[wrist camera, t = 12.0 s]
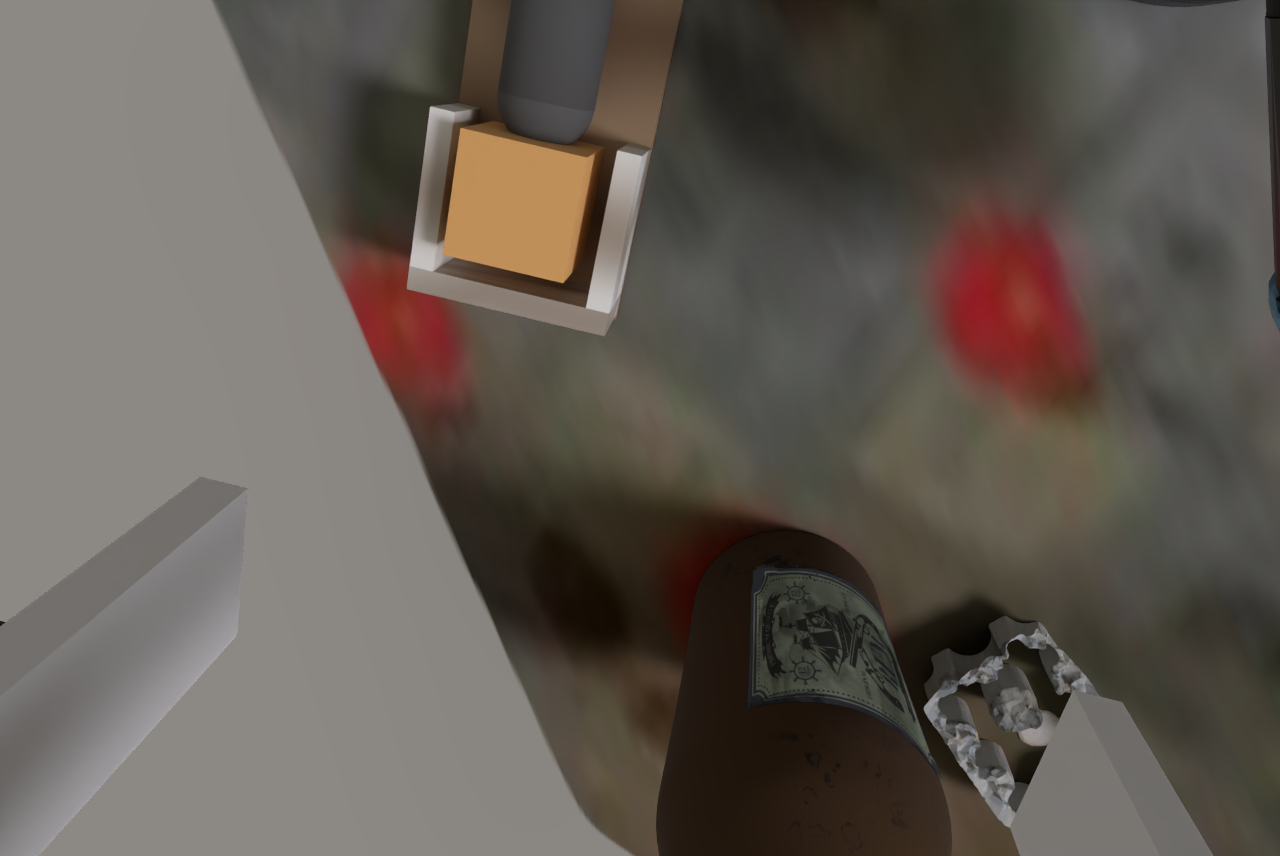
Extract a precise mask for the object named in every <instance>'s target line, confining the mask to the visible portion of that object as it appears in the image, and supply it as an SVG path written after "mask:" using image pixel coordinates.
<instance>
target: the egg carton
mask: <svg viewBox="0 0 1280 856" xmlns="http://www.w3.org/2000/svg"><path fill="white" fill-rule="evenodd" d="M989 628H990V631H991V641H990V643H989V645H988V646H987V648H986V649H985V650H984V651H982V652H981V653H979V654H976V655H972V656H966V655H960V654H957V653H955V652H953V651H952V650H950V649H944V650H942V651H941V652H939V653H937V654H935V655H933V656H932V657H931V660H932V663H933V667H934V672H933V674H932V676H931V678H930V679H929V680H928V681H927V682H926V683H924V686H925V691H926V695H927V697H928V701H929V702H928V703H927V704H926V705H925V706H924V712H925V713H926V715H927V717H928V718H929V720H930V721H931V723H932V724H933V726H934V727H935V728H936V729H937V730H938V732H939V733H940V735H941V736H942V738H943V740H944V742H945V744H947V745H948V746H949V748H950V750H951V751H952V753H953V755H954V756H955V758H956V760H957V762H958V763H959V765H960V766H961V767H962V768H963V769H964V771H965V772H966V773H967V775H968V776H969V778H970V779H971V781H972V782H973V784H974V785H975V786H976V787H977V789H978V790H979V792H980V793H981V795H982V796H983V798H984V799H985V801H986V802H987V804H988V805H989V807H990V808H991V809H992V811H993V812H994V814H995V815H996V816H997V818H998V819H999V820H1000V821H1001V822H1002V823H1003V824H1004V825H1005V826H1007V827H1009V828H1010V825H1011V823H1012V821H1013V819H1014V817H1015V814H1016V812H1017V810H1018V808H1019V806H1020V804H1021V802H1022V799H1023V797H1024V795H1025V793H1026V791H1027V789H1028V786H1029V785H1028V784H1025V783H1021V782H1014V778H1013V775H1012V773H1011V770H1010V767H1009V765H1008V762H1007V760H1006V757H1005V755H1004V752H1003V749H1002V748H1001V747H1000V746H999V745H998V744H996V743H995V742H993V741H989V740H979V737H978V734H977V730H976V728H975V725H974V722H973V719H972V717H971V714H970V711H969V708H968V706H967V704H966V703H965V702H964V700H962V699H961V698H959V697H957V696H954V695H949V694H952V693H954V692H955V691H956V690H957V687H958V684H963V685H965V686H968V685H970V684H972V683H974V682H979V683H981V689H982V692H983V695H984V698H985V701H986V703H987V706H988V708H989V713H990V715H991V716H992V718H993V719H994V721H995V723H996V724H997V726H998V727H999V728H1000V729H1001V730H1003V731H1012V732H1018V735H1019V737H1020V739H1021V740H1022V741H1023V742H1024V743H1026V744H1029V745H1031V746H1046V745H1048V743H1049V741H1050V739H1051V737H1052V735H1053V732H1054V730H1055V728H1056V726H1057V724H1058V722H1059V718H1058V717H1057V716H1056V715H1055V714H1053V713H1052V712H1050V711H1047V710H1039V708H1038V704H1037V699H1036V697H1035V695H1034V693H1033V691H1032V689H1031V686H1030V684H1029V682H1028V680H1027V678H1026V676H1025V674H1024V672H1023V671H1022V670H1021V669H1020V668H1018V667H1017V666H1014V665H1012V664H1003V663H1002V660H1005V659H1007V658H1008V657H1009V653H1008V650H1007V645H1008V643H1009V642H1011V641H1013V640H1016V639H1018V640H1020V641H1021V642H1022V643H1024V645H1026V646H1027V647H1028V648H1037V649H1039V655H1040V658H1041V662H1042V664H1043V666H1044V668H1045V671H1046V673H1047V674H1048V677H1049V679H1050V681H1051V682H1052V684H1053V687H1054V690H1055V692H1056V693H1057V694H1058V695H1062V694H1063V693H1065V692H1068V693H1072V691H1073V690H1075V691H1079V692H1083V693H1087V694H1091V695H1095V696H1099V695H1098V693H1097V692H1096V690H1095V688H1094V687H1093V685H1092V684H1091V682H1090V681H1089V680H1088V678H1087V677H1086V676H1085V675H1084V674H1083V673H1082V672H1081V670H1080V669H1079V668H1078V667H1077V666H1076V665H1075V664H1074V663H1073V662H1072V660H1071V659H1070V658H1069V657H1068V656H1067V655H1066V654H1065V653H1064V652H1063V651H1062V650H1061V649H1060V648H1059V647H1058V646H1057V645H1056V644H1055V642H1054V641H1053V639H1052V638H1051V636H1050V635H1049V634H1048V632H1047V630H1046V629H1045V628H1044V626H1043V625H1042V624H1040V623H1039V622H1038V621H1037V622H1032V623H1019V622H1015V621H1014V620H1012V619H1010V618H1009V617H1007V616H1003V617H1001V618H999V619H997V620H996V621H994V622H992V623H990V624H989Z"/></svg>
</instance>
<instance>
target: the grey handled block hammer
mask: <svg viewBox="0 0 1280 856" xmlns="http://www.w3.org/2000/svg"><path fill="white" fill-rule="evenodd" d="M615 1H616V0H511V6H510V13H509V19H508V26H507V32H506V39H505V46H504V52H503V59H502V65H501V72H500V78H499V85H498V96H497V101H498V108H499V112H500V115H501V118H502V120H503V122H504V123H500V122H496V121H491V122H486V123H482V124H477V125H472V126H467V127H462V128H460V135H459V142H458V149H457V156H456V163H455V170H454V178H453V185H452V192H451V199H450V206H449V213H448V220H447V227H446V234H445V241H444V249H443V255H447V256H451V257H455V258H459V259H463V260H468V261H472V262H476V263H480V264H484V265H488V266H493V267H497V268H501V269H505V270H509V271H514V272H518V273H522V274H526V275H530V276H535V277H539V278H543V279H547V280H551V281H556V282H560V283H564V282H565V281H566V279H567V278H568V277H569V276H570V275H571V274H572V272H573V271H574V270H575V269H576V268H577V266H578V265H579V264H580V263H581V262H582V261H583V259H584V255H585V250H586V244H587V239H588V234H589V229H590V224H591V219H592V214H593V209H594V204H595V198H596V193H597V188H598V183H599V178H600V173H601V168H602V163H603V158H604V152H605V147H602V146H598V145H594V144H589V143H585V142H581V141H577V140H578V139H579V138H580V137H581V136H582V135H583V134H584V132H585V131H586V130H587V129H588V127H589V125H590V123H591V121H592V118H593V114H594V111H595V107H596V101H597V96H598V91H599V85H600V80H601V75H602V70H603V64H604V59H605V54H606V48H607V43H608V38H609V33H610V27H611V22H612V17H613V11H614V6H615Z"/></svg>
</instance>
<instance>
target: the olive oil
mask: <svg viewBox="0 0 1280 856" xmlns="http://www.w3.org/2000/svg"><path fill="white" fill-rule="evenodd" d="M937 773H938V774H939V776H940V777H941V775H940V772H939V769H938V767H937V764H936V763H935V761H934V760H933V758H932V756H931V754H930V751H929V748H928V745H927V743H926V740H925V737H924V734H923V732H922V729H921V726H920V723H919V720H918V718H917V715H916V712H915V709H914V706H913V703H912V701H911V698H910V695H909V692H908V689H907V686H906V683H905V680H904V677H903V674H902V671H901V668H900V665H899V663H898V660H897V657H896V654H895V651H894V648H893V645H892V642H891V639H890V635H889V632H888V629H887V625H886V622H885V619H884V616H883V612H882V609H881V606H880V602H879V599H878V596H877V593H876V590H875V588H874V585H873V583H872V581H871V579H870V577H869V575H868V574H867V572H866V571H865V569H864V568H863V567H862V565H861V564H860V563H859V562H858V561H857V560H856V559H855V558H854V557H853V556H852V555H851V554H850V553H849V552H847V551H846V550H845V549H843V548H842V547H840V546H838V545H837V544H835V543H833V542H831V541H829V540H827V539H824V538H822V537H819V536H816V535H812V534H808V533H803V532H795V531H775V532H768V533H763V534H759V535H755V536H752V537H749V538H747V539H744V540H742V541H740V542H738V543H736V544H734V545H733V546H731V547H730V548H728V549H727V550H725V551H724V552H723V553H722V554H720V555H719V556H718V557H717V558H716V559H715V560H714V561H713V562H712V564H711V565H710V566H709V568H708V569H707V570H706V572H705V574H704V575H703V577H702V579H701V581H700V583H699V586H698V589H697V592H696V596H695V600H694V606H693V612H692V619H691V625H690V632H689V639H688V645H687V652H686V657H685V663H684V668H683V674H682V679H681V684H680V690H679V695H678V701H677V706H676V711H675V717H674V722H673V727H672V732H671V737H670V742H669V747H668V752H667V757H666V762H665V766H664V771H663V776H662V781H661V786H660V791H659V797H658V804H657V815H656V832H657V843H658V850H659V855H660V856H951V850H952V833H951V822H950V816H949V810H948V806H947V802H946V798H945V795H944V791H943V788H942V785H941V782H940V780H939V777H938V774H937Z"/></svg>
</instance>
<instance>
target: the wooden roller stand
mask: <svg viewBox="0 0 1280 856" xmlns="http://www.w3.org/2000/svg"><path fill="white" fill-rule="evenodd" d="M683 3H684V0H616V1H615V6H614V11H613V17H612V22H611V27H610V33H609V38H608V43H607V48H606V54H605V59H604V64H603V70H602V75H601V80H600V85H599V91H598V96H597V101H596V107H595V111H594V114H593V118H592V121H591V123H590V125H589V127H588V129H587V130H586V131H585V132H584V134H583V135H582V136H581V137H580V138H579V139H578V140H577V141H581V142H585V143H589V144H594V145H598V146H602V147H605V152H604V158H603V163H602V168H601V173H600V178H599V183H598V188H597V193H596V198H595V204H594V209H593V214H592V219H591V224H590V229H589V234H588V239H587V244H586V250H585V255H584V259H583V261H582V262H581V263H580V264H579V265H578V266H577V268H576V269H575V270H574V271H573V272H572V274H571V275H570V276H569V277H568V278H567V279H566V281H565V282H564V283H560V282H556V281H551V280H547V279H543V278H539V277H535V276H530V275H526V274H522V273H518V272H514V271H509V270H505V269H501V268H497V267H493V266H488V265H484V264H480V263H476V262H472V261H468V260H463V259H459V258H455V257H451V256H447V255H443V249H444V241H445V234H446V227H447V220H448V213H449V206H450V199H451V192H452V185H453V178H454V170H455V163H456V156H457V149H458V142H459V135H460V128H462V127H467V126H472V125H477V124H482V123H486V122H491V121H496V122H500V123H504V122H503V120H502V118H501V115H500V112H499V108H498V101H497V96H498V85H499V78H500V72H501V65H502V59H503V52H504V46H505V39H506V32H507V26H508V19H509V13H510V6H511V0H473V2H472V9H471V17H470V24H469V31H468V38H467V45H466V53H465V60H464V67H463V74H462V81H461V89H460V96H459V103H455V104H446V105H438V106H430V112H429V120H428V127H427V135H426V143H425V151H424V159H423V166H422V174H421V182H420V190H419V197H418V205H417V213H416V221H415V229H414V236H413V244H412V252H411V260H410V267H409V275H408V283H407V289H409V290H413V291H417V292H421V293H426V294H430V295H434V296H438V297H442V298H447V299H451V300H455V301H459V302H463V303H467V304H472V305H476V306H480V307H484V308H488V309H492V310H497V311H501V312H505V313H509V314H513V315H518V316H522V317H526V318H530V319H534V320H538V321H543V322H547V323H551V324H555V325H559V326H564V327H568V328H572V329H576V330H580V331H584V332H589V333H593V334H597V335H601V336H605V334H606V332H607V330H608V329H609V327H610V325H611V323H612V321H613V320H615V319H616V317H617V313H618V308H619V304H620V299H621V294H622V290H623V285H624V280H625V275H626V271H627V266H628V261H629V257H630V252H631V247H632V243H633V238H634V233H635V229H636V224H637V219H638V214H639V210H640V205H641V200H642V196H643V191H644V186H645V182H646V177H647V172H648V168H649V163H650V158H651V153H652V149H653V144H654V139H655V135H656V130H657V125H658V121H659V116H660V111H661V107H662V102H663V97H664V93H665V88H666V83H667V78H668V74H669V69H670V64H671V60H672V55H673V50H674V46H675V41H676V36H677V32H678V27H679V22H680V17H681V13H682V8H683Z"/></svg>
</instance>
